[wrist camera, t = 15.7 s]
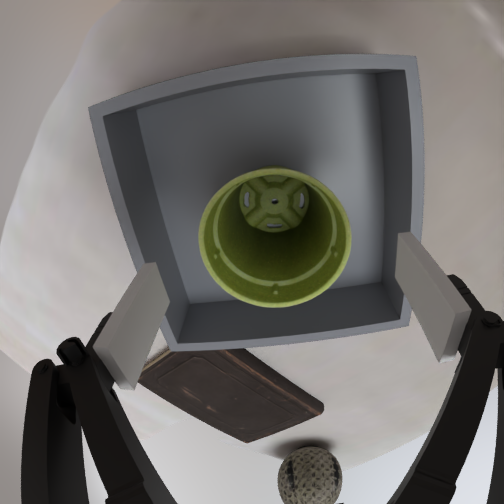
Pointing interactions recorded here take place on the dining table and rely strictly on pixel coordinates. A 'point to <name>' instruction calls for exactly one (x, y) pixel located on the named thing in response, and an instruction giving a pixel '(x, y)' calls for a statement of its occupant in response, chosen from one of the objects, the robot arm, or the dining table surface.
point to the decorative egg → (310, 477)
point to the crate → (266, 154)
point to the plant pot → (274, 237)
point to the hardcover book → (230, 391)
